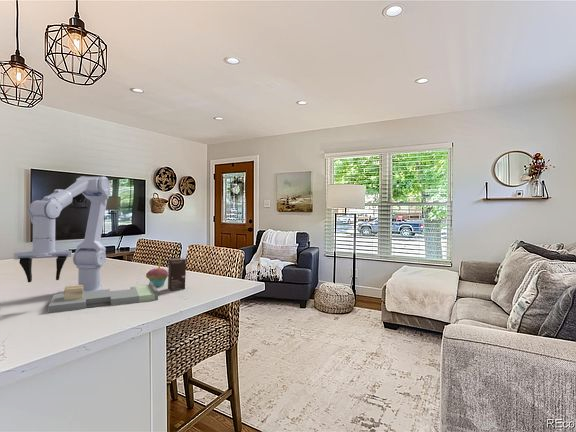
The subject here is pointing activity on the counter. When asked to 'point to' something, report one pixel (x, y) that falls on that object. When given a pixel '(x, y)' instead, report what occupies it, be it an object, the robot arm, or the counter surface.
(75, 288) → the block
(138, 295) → the track
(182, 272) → the box
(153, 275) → the cupcake
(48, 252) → the robot arm
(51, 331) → the counter surface
